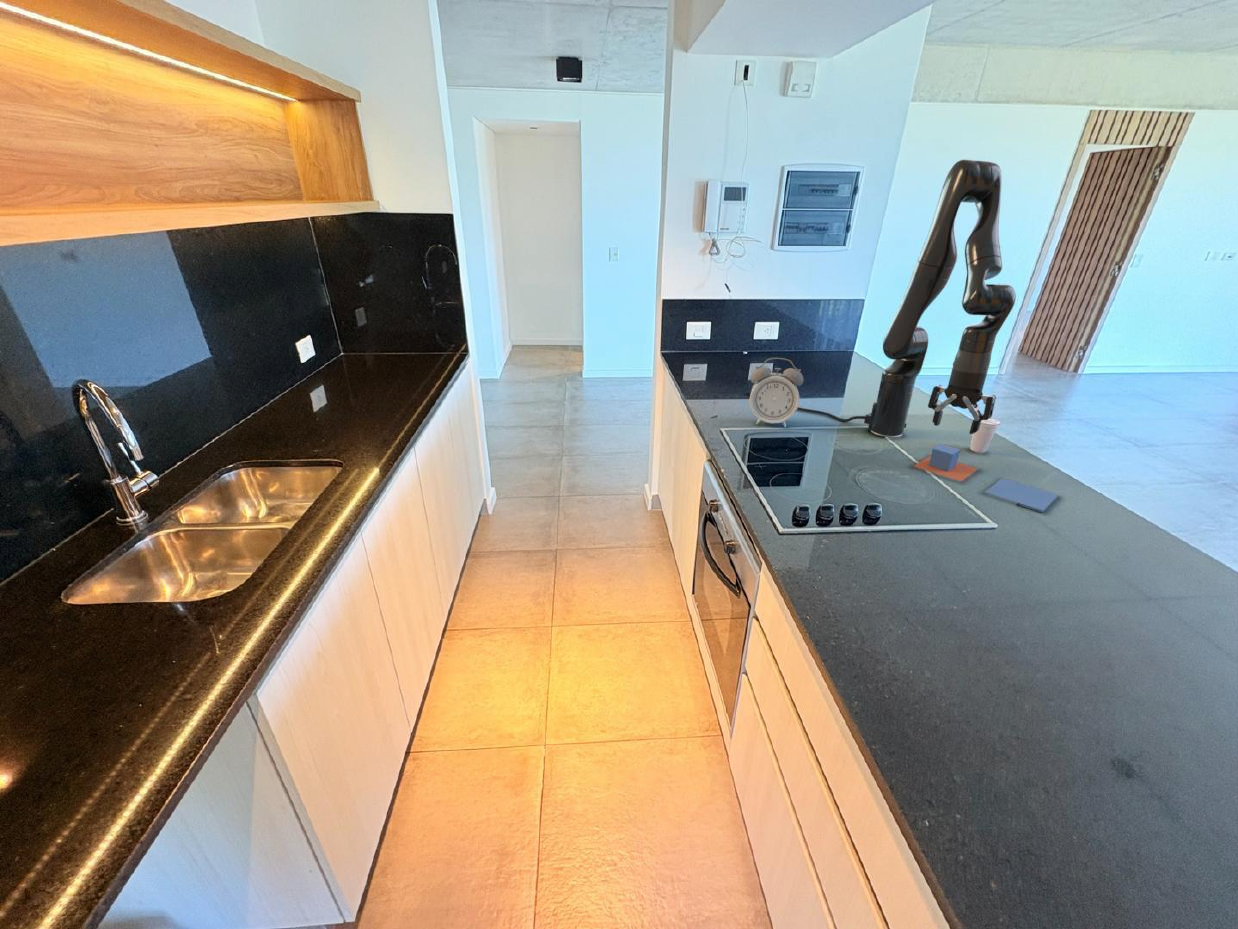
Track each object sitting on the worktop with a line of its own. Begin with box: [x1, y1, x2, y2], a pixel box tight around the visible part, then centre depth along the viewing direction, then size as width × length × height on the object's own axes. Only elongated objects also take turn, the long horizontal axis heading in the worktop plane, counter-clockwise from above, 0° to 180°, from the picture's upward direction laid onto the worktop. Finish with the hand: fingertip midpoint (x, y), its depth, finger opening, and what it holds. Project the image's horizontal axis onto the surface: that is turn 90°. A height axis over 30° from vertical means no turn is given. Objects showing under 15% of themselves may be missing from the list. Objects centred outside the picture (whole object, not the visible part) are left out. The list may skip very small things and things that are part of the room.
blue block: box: [929, 444, 961, 471], centre depth 142 cm, size 5×5×5 cm
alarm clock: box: [749, 357, 804, 428], centre depth 171 cm, size 16×9×22 cm, turn 74°
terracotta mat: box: [913, 455, 979, 482], centre depth 143 cm, size 12×12×1 cm
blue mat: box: [984, 478, 1059, 514], centre depth 129 cm, size 12×12×1 cm
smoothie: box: [969, 405, 1001, 454], centre depth 151 cm, size 6×6×14 cm
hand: (953, 429), depth 139 cm, fingers open, 8 cm apart
